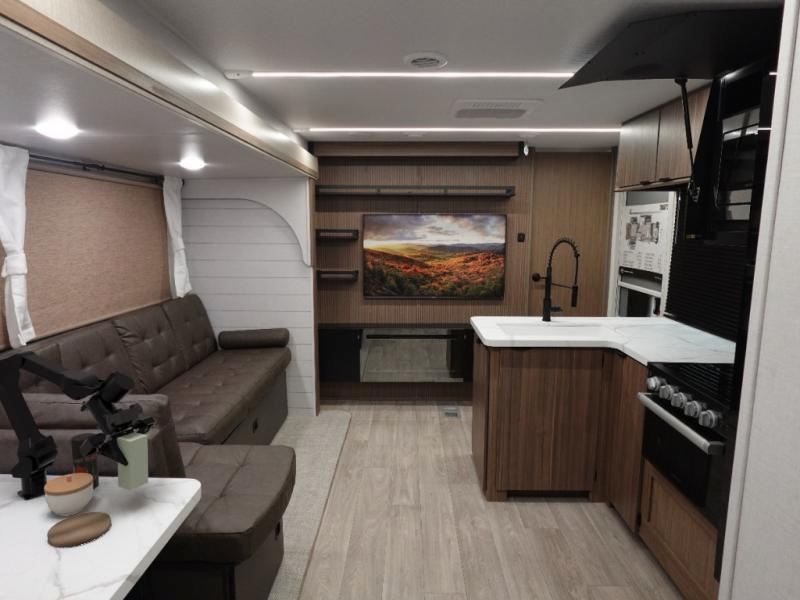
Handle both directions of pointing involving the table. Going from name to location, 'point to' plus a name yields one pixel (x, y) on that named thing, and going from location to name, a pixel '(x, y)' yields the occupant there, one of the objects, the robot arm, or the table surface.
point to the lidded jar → (69, 493)
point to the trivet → (79, 529)
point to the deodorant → (81, 463)
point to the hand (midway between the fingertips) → (136, 461)
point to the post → (133, 461)
